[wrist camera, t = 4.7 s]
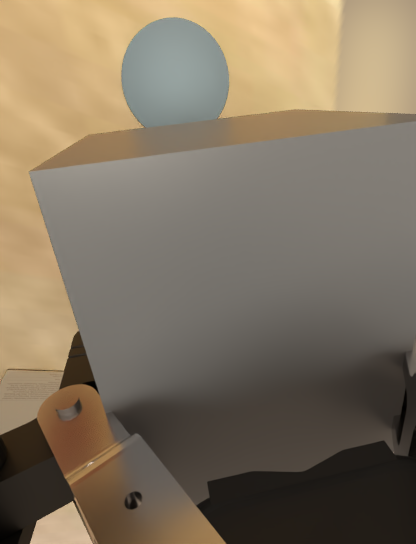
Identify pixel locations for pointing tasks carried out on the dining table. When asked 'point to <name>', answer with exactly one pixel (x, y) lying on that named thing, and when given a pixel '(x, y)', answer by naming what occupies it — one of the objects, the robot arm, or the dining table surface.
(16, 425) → the product box
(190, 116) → the spot
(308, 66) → the dining table surface
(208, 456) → the gray rectangular prism
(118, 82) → the dining table surface
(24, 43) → the dining table surface
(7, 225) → the dining table surface
